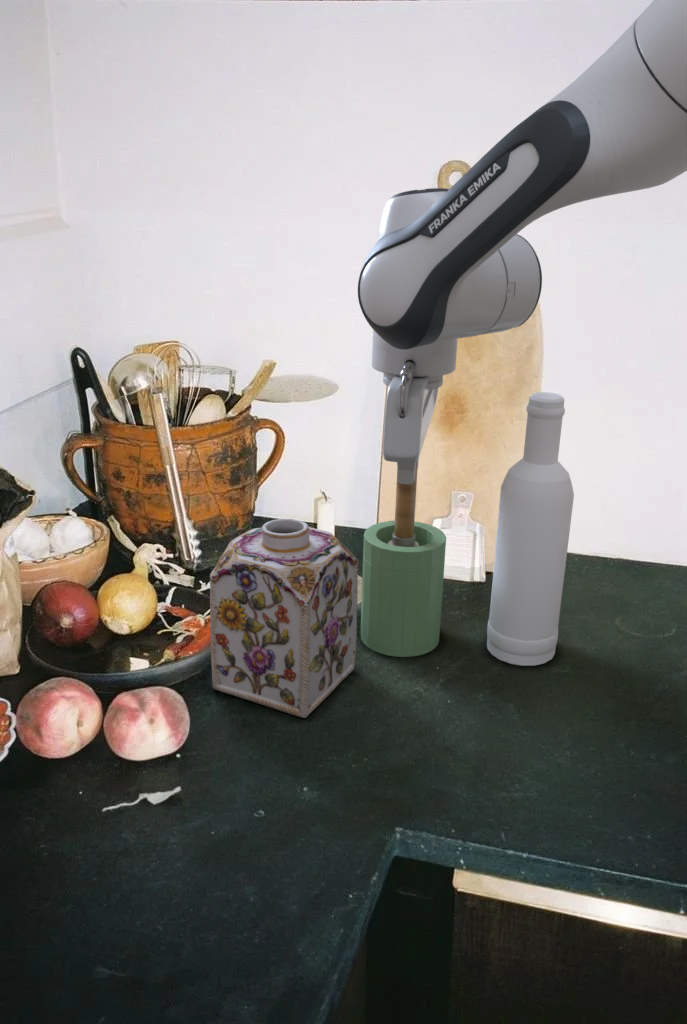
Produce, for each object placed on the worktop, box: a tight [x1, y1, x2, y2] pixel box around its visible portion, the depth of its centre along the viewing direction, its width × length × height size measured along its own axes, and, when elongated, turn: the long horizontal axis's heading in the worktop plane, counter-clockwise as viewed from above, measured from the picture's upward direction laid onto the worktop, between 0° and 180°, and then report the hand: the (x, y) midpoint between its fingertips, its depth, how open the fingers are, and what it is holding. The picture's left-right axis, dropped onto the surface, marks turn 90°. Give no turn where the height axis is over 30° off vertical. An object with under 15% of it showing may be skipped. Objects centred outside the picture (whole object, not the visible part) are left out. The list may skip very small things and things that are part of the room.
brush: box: [388, 461, 419, 547], centre depth 104 cm, size 4×4×18 cm
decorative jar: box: [209, 518, 359, 719], centre depth 97 cm, size 12×12×18 cm
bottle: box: [486, 391, 575, 667], centre depth 103 cm, size 8×8×30 cm
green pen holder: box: [360, 520, 447, 658], centre depth 108 cm, size 9×9×13 cm
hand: (407, 476), depth 103 cm, fingers closed on brush, 2 cm apart
